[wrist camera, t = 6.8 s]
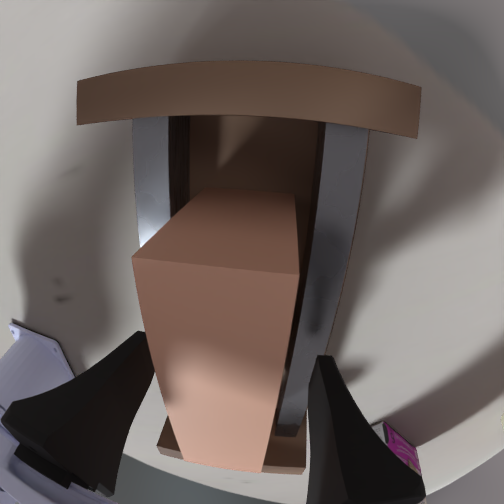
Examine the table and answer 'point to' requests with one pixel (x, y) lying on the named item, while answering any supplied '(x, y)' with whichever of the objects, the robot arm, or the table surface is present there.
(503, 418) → the reusable coffee cup
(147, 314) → the salmon orange block
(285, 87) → the track base
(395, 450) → the candy bar box
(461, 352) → the table surface
